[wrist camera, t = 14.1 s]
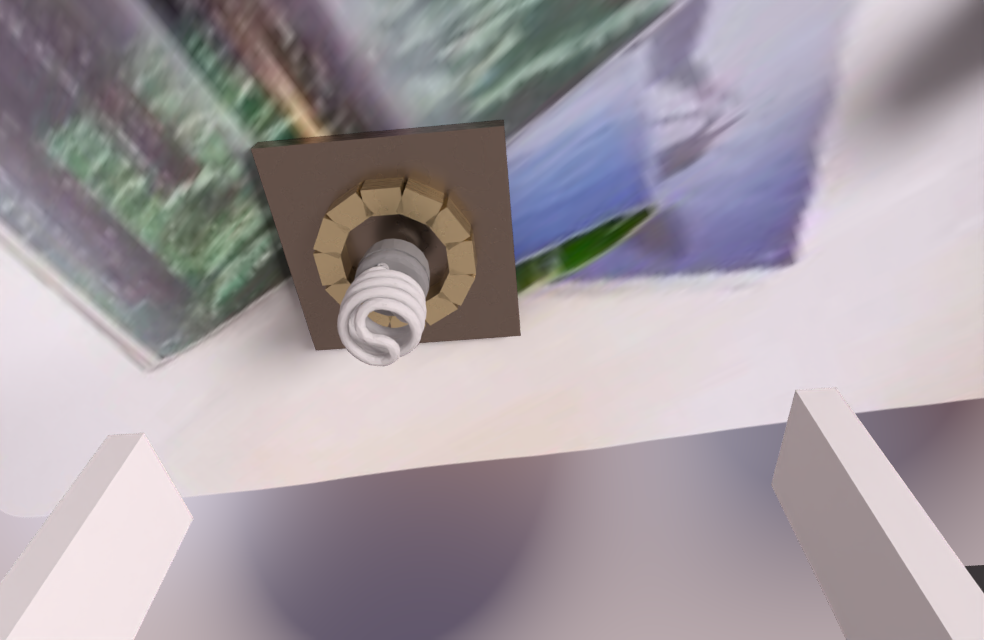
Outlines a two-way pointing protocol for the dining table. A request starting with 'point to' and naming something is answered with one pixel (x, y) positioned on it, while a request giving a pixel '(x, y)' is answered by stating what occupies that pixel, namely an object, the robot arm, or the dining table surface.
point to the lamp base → (398, 221)
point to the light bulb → (385, 302)
